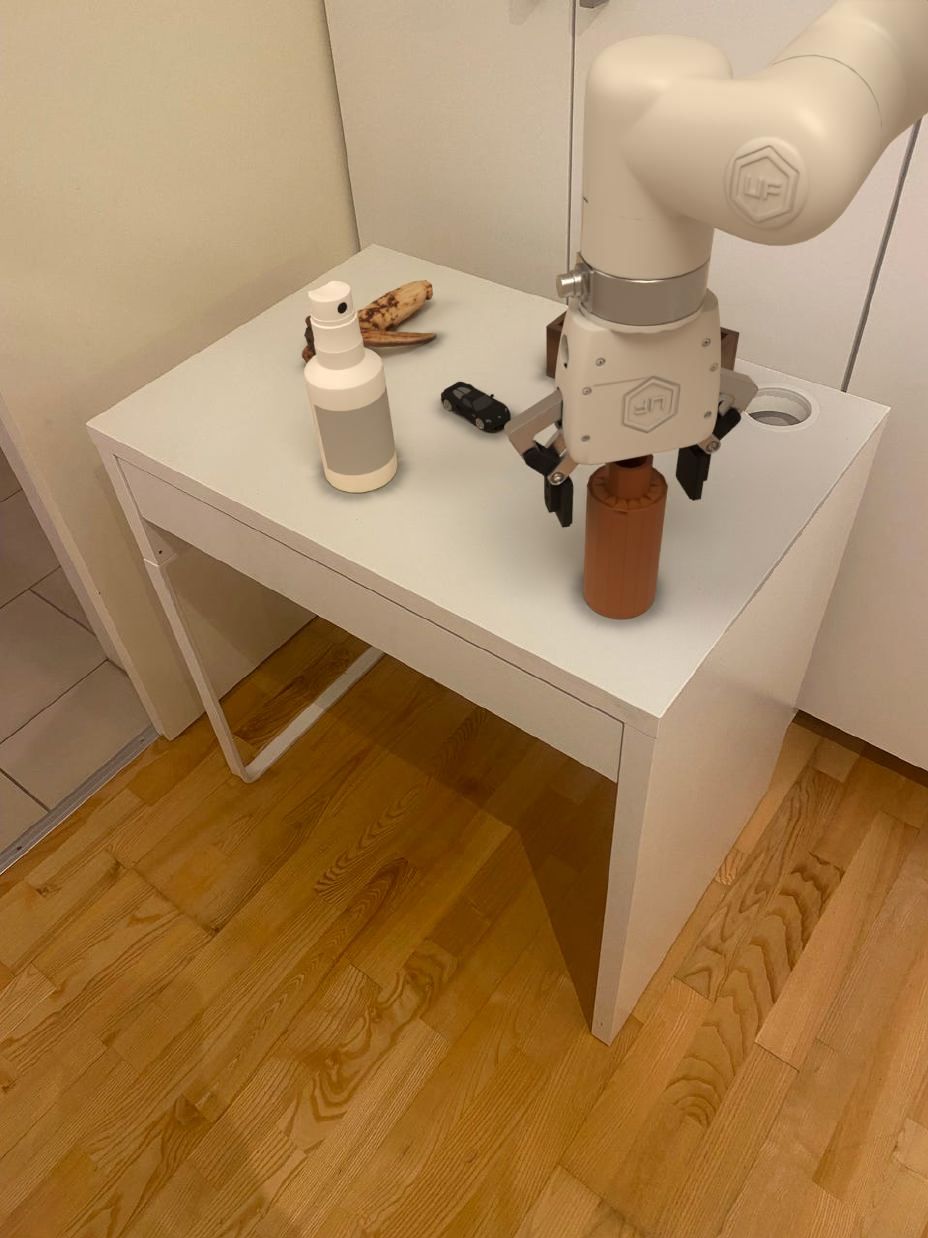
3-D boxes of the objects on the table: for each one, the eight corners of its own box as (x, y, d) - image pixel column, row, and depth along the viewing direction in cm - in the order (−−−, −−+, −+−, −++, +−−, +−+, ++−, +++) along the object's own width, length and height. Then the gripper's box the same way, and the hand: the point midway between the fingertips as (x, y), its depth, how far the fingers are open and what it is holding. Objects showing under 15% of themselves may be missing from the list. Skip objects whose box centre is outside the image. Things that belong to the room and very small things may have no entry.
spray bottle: (352, 504, 86) (317, 322, 73) (311, 470, 90) (270, 291, 76) (412, 471, 88) (389, 289, 75) (370, 439, 92) (340, 261, 79)
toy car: (517, 422, 93) (516, 403, 91) (491, 437, 91) (490, 419, 90) (462, 390, 97) (460, 372, 96) (436, 405, 96) (434, 386, 94)
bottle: (659, 575, 77) (676, 437, 67) (648, 624, 74) (664, 487, 64) (591, 564, 78) (597, 428, 69) (577, 612, 75) (581, 476, 65)
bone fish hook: (345, 395, 99) (469, 321, 106) (338, 356, 95) (467, 282, 103) (290, 361, 103) (413, 292, 111) (282, 322, 100) (409, 254, 107)
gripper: (519, 336, 53) (524, 560, 66) (808, 284, 55) (759, 510, 68) (486, 275, 58) (496, 493, 71) (751, 229, 60) (715, 449, 73)
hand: (624, 501), depth 69 cm, fingers open, 9 cm apart
